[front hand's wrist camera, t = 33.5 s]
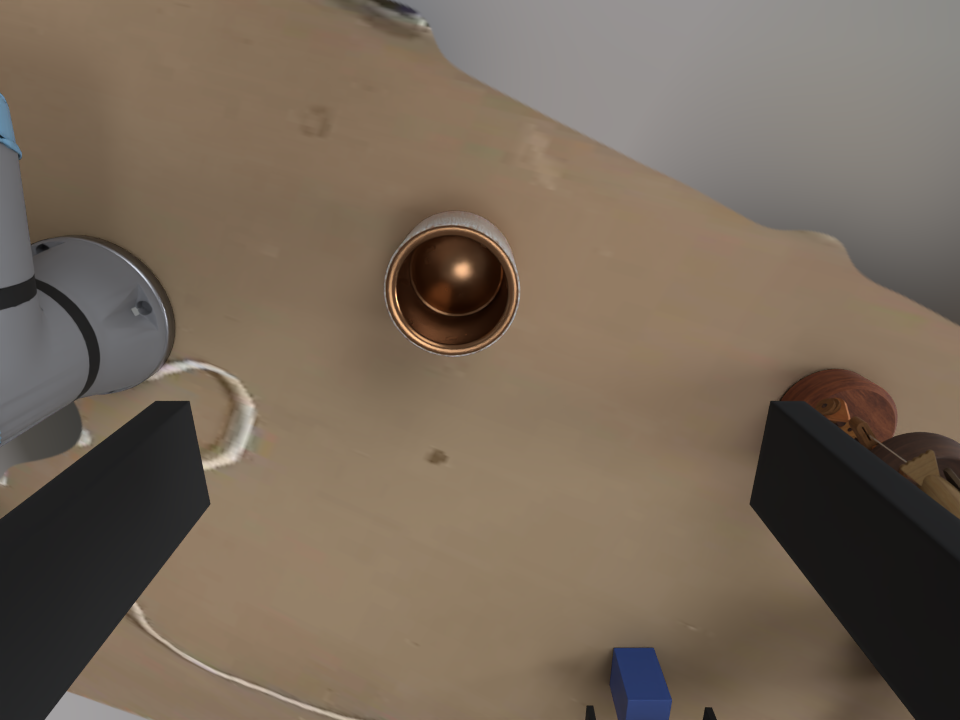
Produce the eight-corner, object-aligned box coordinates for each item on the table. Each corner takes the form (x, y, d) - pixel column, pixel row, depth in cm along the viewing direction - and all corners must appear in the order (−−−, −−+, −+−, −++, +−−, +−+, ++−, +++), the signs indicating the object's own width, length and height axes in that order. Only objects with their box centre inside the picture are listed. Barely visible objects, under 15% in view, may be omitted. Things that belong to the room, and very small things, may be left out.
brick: (609, 685, 71) (623, 739, 64) (613, 647, 69) (628, 700, 62) (648, 685, 71) (665, 739, 64) (653, 647, 69) (672, 700, 62)
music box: (737, 424, 58) (878, 537, 38) (808, 339, 55) (997, 413, 36) (840, 493, 61) (1019, 630, 41) (912, 415, 58) (1137, 521, 39)
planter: (525, 221, 50) (534, 235, 41) (502, 332, 54) (507, 368, 45) (407, 199, 50) (390, 209, 41) (392, 314, 53) (374, 346, 44)
